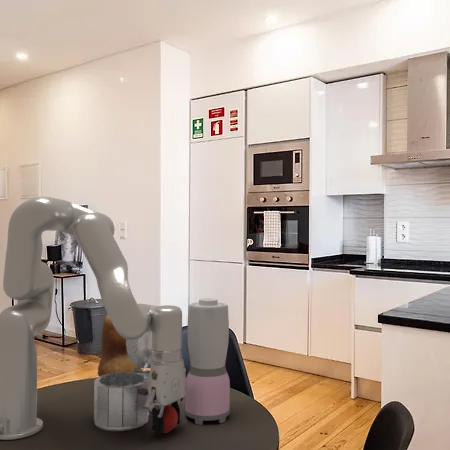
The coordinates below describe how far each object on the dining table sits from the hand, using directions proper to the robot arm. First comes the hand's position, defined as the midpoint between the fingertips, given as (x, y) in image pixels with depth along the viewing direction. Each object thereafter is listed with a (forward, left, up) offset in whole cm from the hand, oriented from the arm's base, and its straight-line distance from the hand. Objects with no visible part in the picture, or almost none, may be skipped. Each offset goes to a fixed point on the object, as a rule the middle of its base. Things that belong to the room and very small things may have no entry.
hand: (166, 426), depth 125 cm
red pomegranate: (0, 0, -2) cm, 2 cm away
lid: (+9, +15, +17) cm, 24 cm away
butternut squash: (+18, +33, -2) cm, 38 cm away
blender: (+16, -1, -2) cm, 16 cm away
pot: (0, +15, -2) cm, 15 cm away
